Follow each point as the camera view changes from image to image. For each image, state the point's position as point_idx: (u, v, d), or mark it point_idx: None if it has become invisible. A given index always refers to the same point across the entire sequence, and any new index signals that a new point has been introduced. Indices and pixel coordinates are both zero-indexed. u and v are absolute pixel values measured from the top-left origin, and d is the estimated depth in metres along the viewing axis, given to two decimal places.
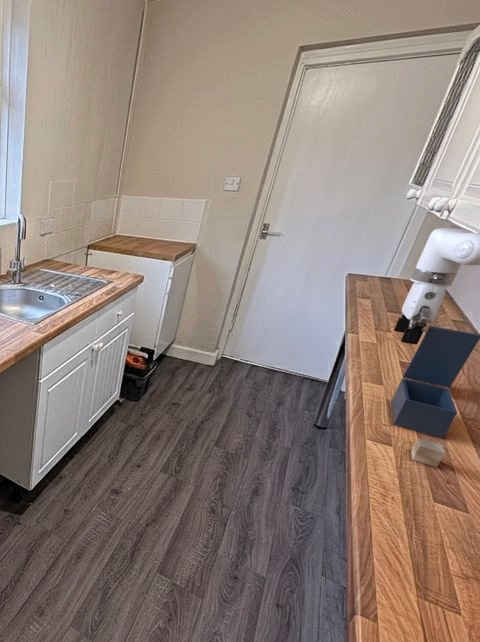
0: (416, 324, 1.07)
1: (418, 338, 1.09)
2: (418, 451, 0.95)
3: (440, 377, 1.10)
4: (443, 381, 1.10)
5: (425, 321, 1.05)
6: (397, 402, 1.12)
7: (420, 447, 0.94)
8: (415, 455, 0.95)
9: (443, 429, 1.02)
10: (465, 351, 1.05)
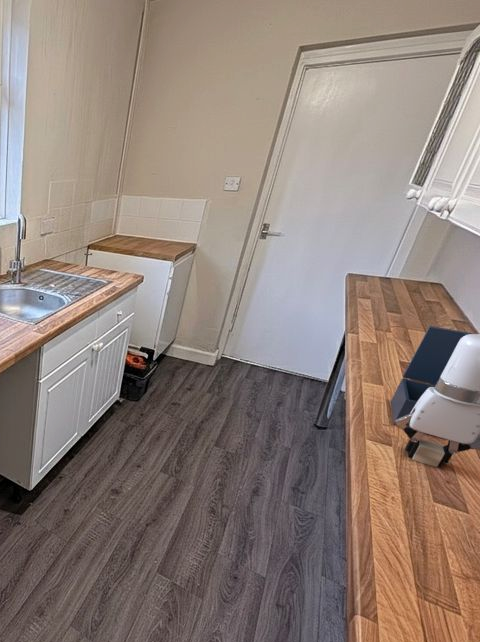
0: (468, 448, 0.90)
1: None
2: (418, 451, 0.95)
3: None
4: None
5: None
6: (397, 402, 1.12)
7: (420, 447, 0.94)
8: (415, 455, 0.95)
9: None
10: None
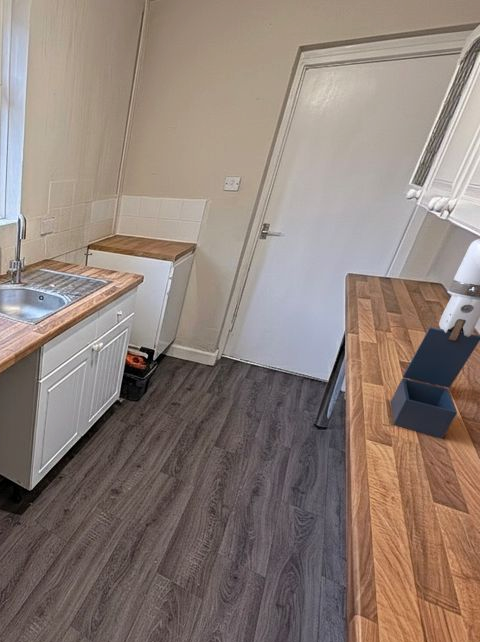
0: None
1: None
2: None
3: (440, 377, 1.10)
4: (443, 381, 1.10)
5: (452, 340, 1.05)
6: (397, 402, 1.12)
7: None
8: None
9: (443, 429, 1.02)
10: (465, 352, 1.04)
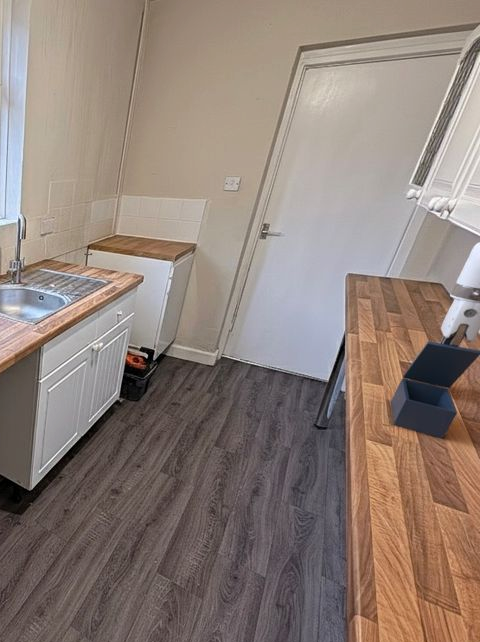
0: (448, 342, 1.03)
1: None
2: None
3: (439, 380, 1.10)
4: (443, 383, 1.10)
5: (455, 345, 1.02)
6: (397, 402, 1.12)
7: None
8: None
9: (443, 429, 1.02)
10: (464, 363, 1.03)
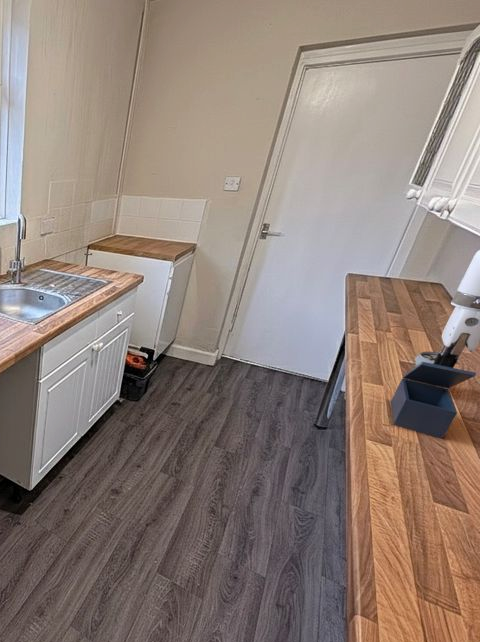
0: (449, 351, 1.00)
1: (452, 366, 1.02)
2: None
3: (438, 383, 1.10)
4: (442, 385, 1.10)
5: (456, 355, 0.99)
6: (397, 402, 1.12)
7: None
8: None
9: (443, 429, 1.02)
10: (460, 378, 1.02)
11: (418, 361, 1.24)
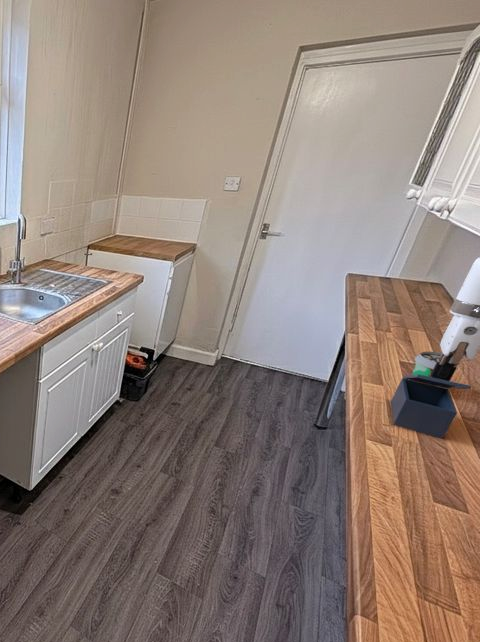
0: (447, 360, 0.99)
1: (450, 375, 1.01)
2: None
3: (438, 385, 1.10)
4: (441, 386, 1.10)
5: (454, 364, 0.98)
6: (397, 402, 1.12)
7: None
8: None
9: (443, 429, 1.02)
10: (457, 387, 1.02)
11: (418, 361, 1.24)
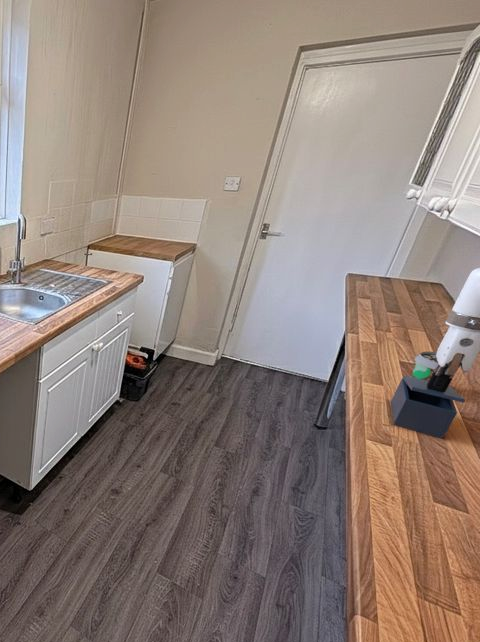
0: (443, 371, 0.99)
1: (446, 386, 1.01)
2: None
3: None
4: None
5: None
6: (397, 402, 1.12)
7: None
8: None
9: (443, 429, 1.02)
10: None
11: (418, 361, 1.24)
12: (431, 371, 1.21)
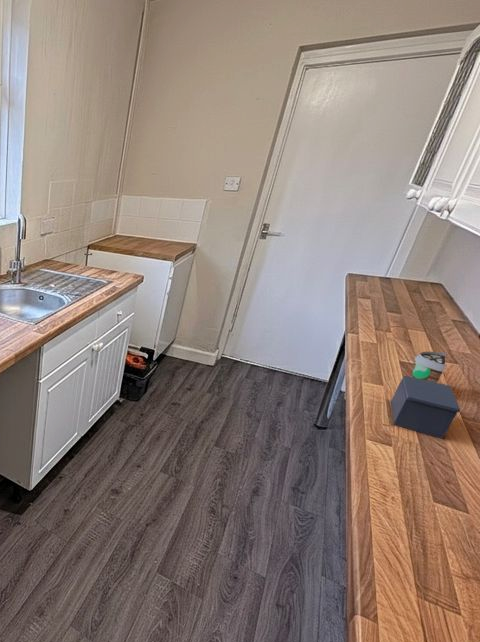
0: None
1: None
2: None
3: None
4: None
5: None
6: (397, 402, 1.12)
7: None
8: None
9: (443, 429, 1.02)
10: None
11: (418, 361, 1.24)
12: (431, 371, 1.21)
